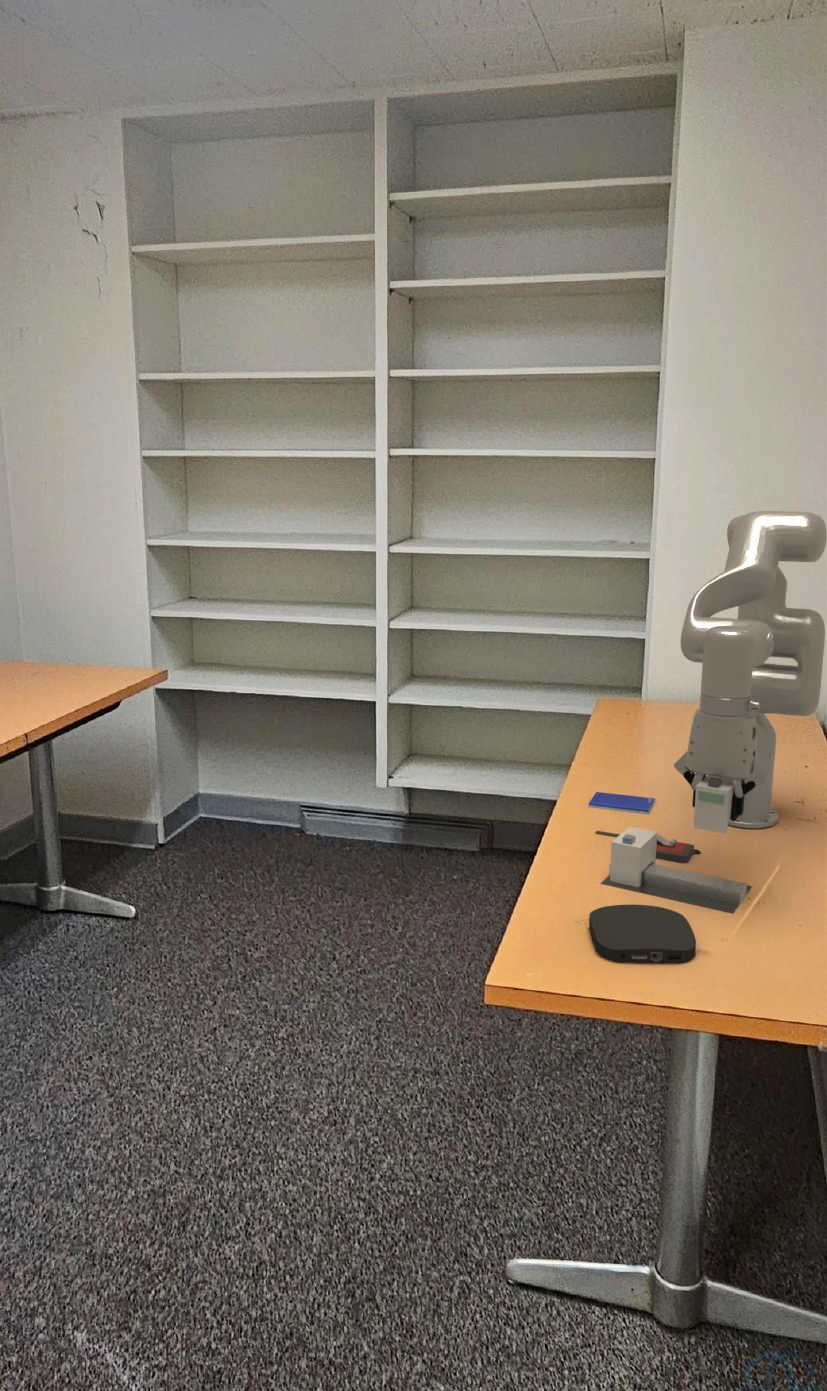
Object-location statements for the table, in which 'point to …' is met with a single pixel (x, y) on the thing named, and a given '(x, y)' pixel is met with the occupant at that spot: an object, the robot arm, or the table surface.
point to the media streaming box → (641, 934)
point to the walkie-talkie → (668, 849)
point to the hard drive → (622, 803)
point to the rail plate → (678, 896)
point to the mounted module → (632, 855)
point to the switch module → (713, 803)
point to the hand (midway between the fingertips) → (717, 814)
